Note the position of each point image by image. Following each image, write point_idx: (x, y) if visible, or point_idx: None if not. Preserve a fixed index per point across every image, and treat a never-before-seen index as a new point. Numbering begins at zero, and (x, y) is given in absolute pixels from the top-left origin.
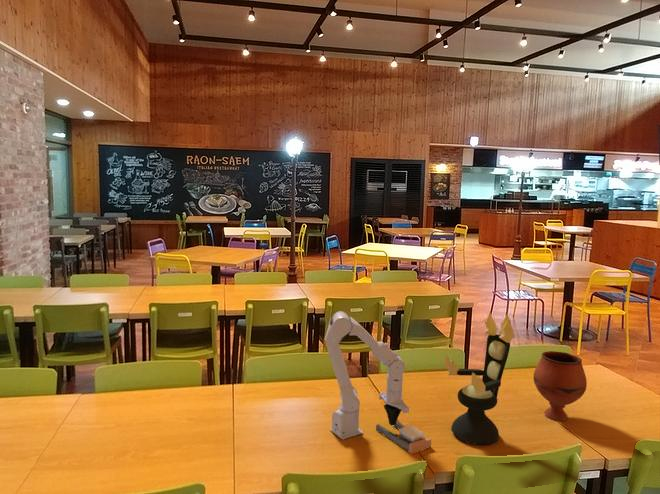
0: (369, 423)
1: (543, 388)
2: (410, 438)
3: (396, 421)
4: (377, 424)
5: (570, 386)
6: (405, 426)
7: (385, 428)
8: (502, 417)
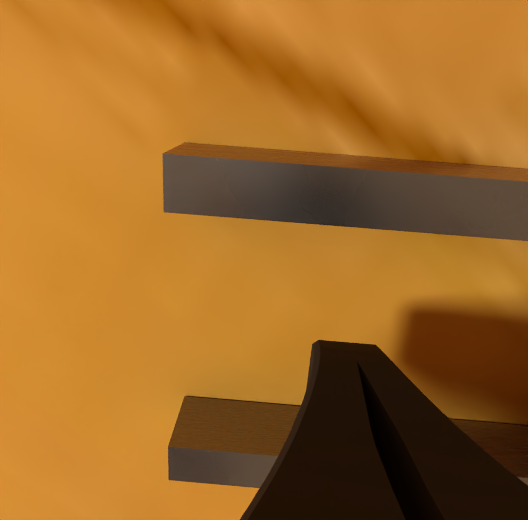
0: (14, 382)
1: None
2: None
3: (398, 371)
4: (168, 463)
5: None
6: (483, 187)
7: None
8: None
